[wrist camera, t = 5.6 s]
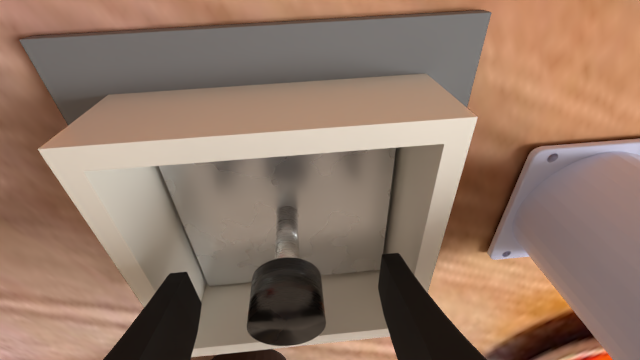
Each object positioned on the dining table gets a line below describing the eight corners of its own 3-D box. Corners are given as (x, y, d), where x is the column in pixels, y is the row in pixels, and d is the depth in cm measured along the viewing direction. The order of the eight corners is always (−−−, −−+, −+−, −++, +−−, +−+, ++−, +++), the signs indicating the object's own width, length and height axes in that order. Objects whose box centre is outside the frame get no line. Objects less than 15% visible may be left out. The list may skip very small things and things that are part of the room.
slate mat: (482, 10, 11) (491, 12, 11) (417, 278, 21) (420, 286, 20) (31, 36, 11) (19, 39, 10) (176, 301, 20) (174, 310, 20)
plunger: (397, 104, 12) (467, 200, 7) (378, 262, 18) (411, 374, 13) (147, 122, 12) (50, 235, 7) (210, 278, 18) (181, 399, 13)
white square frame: (426, 73, 12) (477, 117, 9) (394, 269, 19) (415, 333, 16) (108, 94, 11) (37, 149, 8) (197, 288, 18) (178, 358, 15)
